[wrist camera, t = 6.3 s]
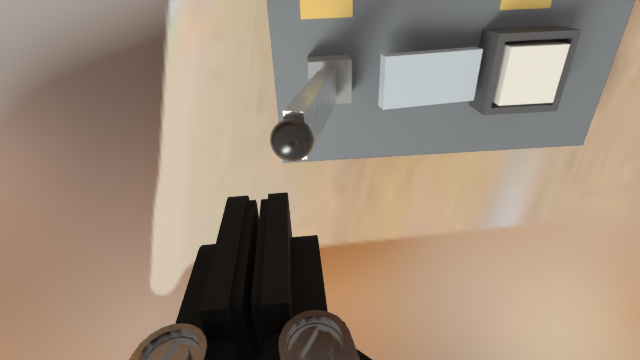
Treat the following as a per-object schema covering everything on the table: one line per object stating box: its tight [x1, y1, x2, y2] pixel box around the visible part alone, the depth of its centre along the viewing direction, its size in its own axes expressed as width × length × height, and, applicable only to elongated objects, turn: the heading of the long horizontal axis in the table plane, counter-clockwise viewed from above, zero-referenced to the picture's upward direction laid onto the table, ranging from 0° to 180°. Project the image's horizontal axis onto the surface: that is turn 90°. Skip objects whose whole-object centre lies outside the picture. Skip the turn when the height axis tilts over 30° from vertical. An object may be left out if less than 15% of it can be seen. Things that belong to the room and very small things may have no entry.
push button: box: [493, 39, 570, 106], centre depth 26 cm, size 4×4×2 cm
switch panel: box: [267, 0, 635, 163], centre depth 27 cm, size 26×14×6 cm, turn 92°
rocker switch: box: [378, 47, 483, 110], centre depth 25 cm, size 7×4×1 cm, turn 92°
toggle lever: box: [270, 67, 336, 162], centre depth 20 cm, size 2×2×10 cm
